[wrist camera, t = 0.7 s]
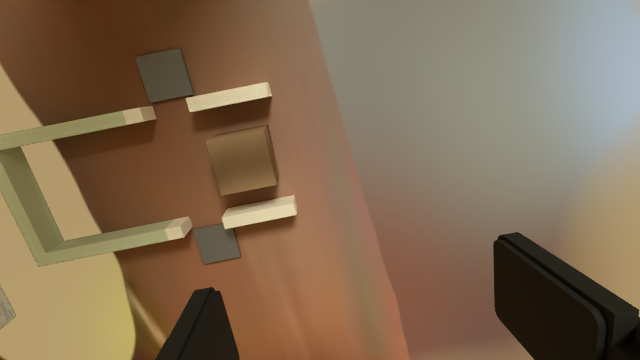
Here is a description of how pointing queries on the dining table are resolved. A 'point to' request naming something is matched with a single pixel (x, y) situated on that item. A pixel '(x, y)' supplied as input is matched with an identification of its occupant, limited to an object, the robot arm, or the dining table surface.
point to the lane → (49, 247)
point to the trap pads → (172, 82)
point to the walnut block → (243, 160)
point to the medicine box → (5, 310)
